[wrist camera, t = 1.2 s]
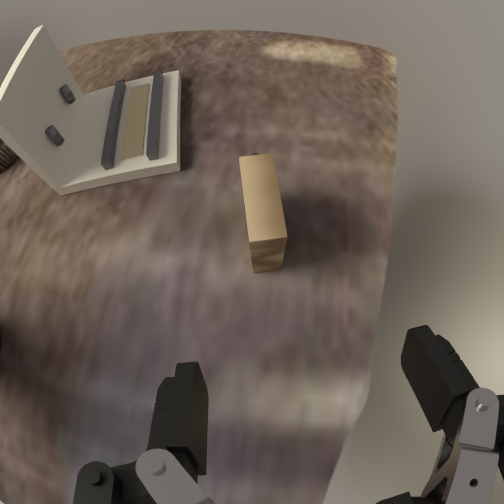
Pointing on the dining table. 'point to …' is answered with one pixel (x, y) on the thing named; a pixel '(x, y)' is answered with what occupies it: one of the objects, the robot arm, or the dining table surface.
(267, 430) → the dining table surface
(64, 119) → the l-shaped angle bracket
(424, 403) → the robot arm
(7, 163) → the cupcake
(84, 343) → the dining table surface
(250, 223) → the wooden block
